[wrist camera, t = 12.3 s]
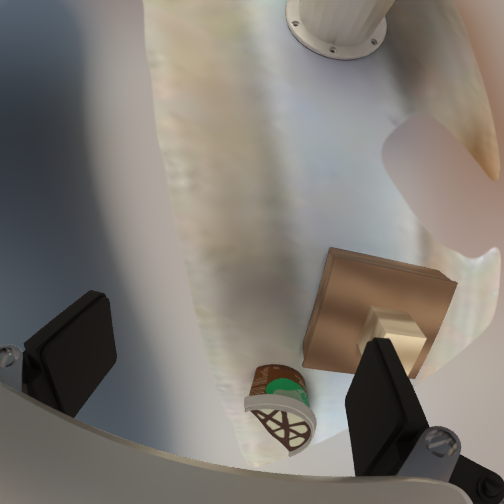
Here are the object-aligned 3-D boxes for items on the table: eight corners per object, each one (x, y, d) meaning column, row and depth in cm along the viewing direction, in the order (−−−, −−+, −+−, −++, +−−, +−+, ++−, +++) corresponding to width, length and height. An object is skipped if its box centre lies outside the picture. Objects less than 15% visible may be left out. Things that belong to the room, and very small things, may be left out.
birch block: (371, 305, 32) (385, 332, 26) (407, 312, 32) (426, 338, 26) (357, 342, 33) (367, 373, 28) (392, 347, 33) (407, 376, 27)
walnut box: (328, 244, 36) (335, 257, 31) (440, 269, 35) (457, 283, 30) (301, 344, 40) (302, 367, 35) (404, 358, 39) (414, 378, 34)
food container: (326, 397, 42) (332, 445, 33) (291, 411, 44) (291, 458, 34) (289, 343, 40) (288, 392, 30) (251, 360, 41) (242, 409, 32)
